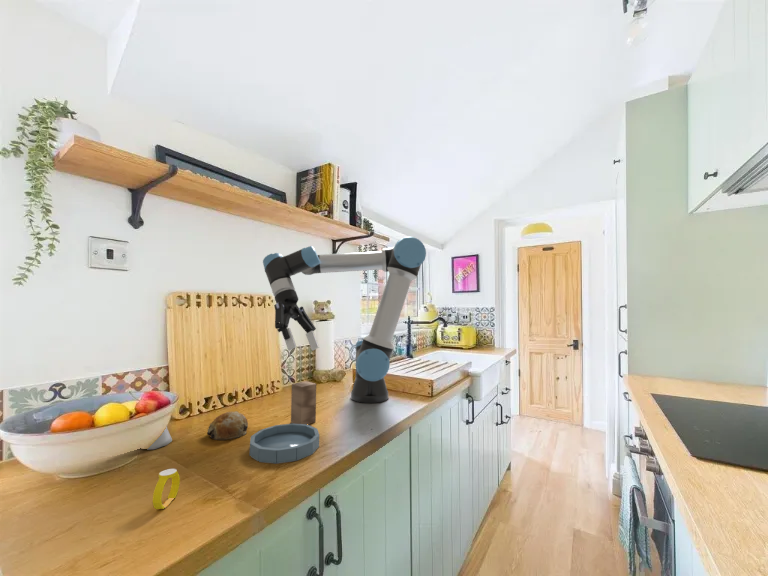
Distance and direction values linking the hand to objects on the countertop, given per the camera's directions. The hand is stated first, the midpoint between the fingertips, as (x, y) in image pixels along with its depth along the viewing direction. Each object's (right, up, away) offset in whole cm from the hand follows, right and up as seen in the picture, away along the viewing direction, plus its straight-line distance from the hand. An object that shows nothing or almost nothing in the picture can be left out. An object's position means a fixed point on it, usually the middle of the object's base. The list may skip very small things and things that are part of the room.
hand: (304, 348), depth 106 cm
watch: (-14, -20, -47) cm, 53 cm away
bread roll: (-19, -22, -14) cm, 32 cm away
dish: (0, -21, -23) cm, 31 cm away
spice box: (+1, -23, -4) cm, 23 cm away
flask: (-34, -22, -21) cm, 46 cm away
